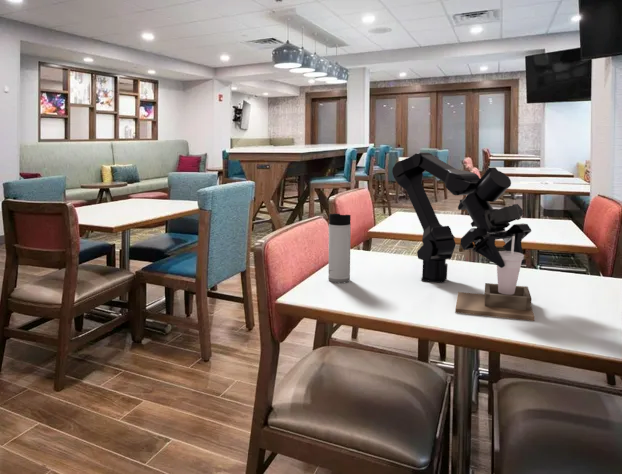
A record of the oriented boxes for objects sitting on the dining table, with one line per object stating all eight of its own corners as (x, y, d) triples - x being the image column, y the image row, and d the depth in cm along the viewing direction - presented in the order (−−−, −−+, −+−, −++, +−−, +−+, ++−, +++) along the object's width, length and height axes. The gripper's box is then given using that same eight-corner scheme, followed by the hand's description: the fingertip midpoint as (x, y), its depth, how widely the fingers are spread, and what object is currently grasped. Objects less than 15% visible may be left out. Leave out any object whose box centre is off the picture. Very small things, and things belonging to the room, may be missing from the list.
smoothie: (517, 298, 114) (522, 239, 111) (489, 293, 117) (493, 236, 115) (522, 291, 119) (528, 235, 116) (495, 286, 123) (500, 232, 120)
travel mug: (324, 282, 140) (325, 213, 136) (332, 276, 146) (333, 210, 142) (345, 284, 137) (346, 214, 134) (352, 278, 143) (353, 211, 140)
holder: (455, 312, 114) (456, 296, 113) (457, 295, 127) (458, 280, 126) (534, 320, 108) (535, 303, 108) (528, 302, 122) (529, 286, 121)
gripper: (472, 194, 113) (505, 250, 105) (528, 191, 121) (563, 243, 114) (447, 223, 122) (476, 276, 114) (501, 218, 130) (532, 267, 122)
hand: (513, 265), depth 116 cm, fingers closed on smoothie, 6 cm apart
